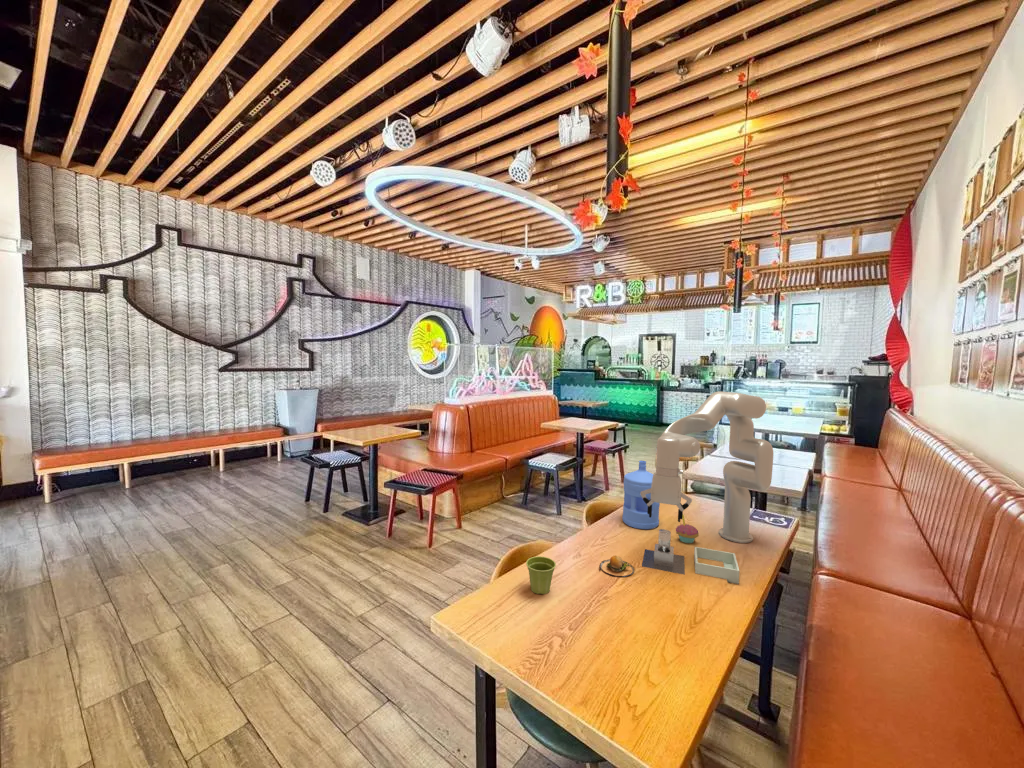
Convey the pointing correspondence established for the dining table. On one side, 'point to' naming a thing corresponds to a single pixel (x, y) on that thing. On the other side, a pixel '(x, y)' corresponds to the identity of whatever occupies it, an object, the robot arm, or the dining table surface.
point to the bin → (726, 572)
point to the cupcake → (687, 532)
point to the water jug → (639, 499)
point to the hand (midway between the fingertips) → (664, 518)
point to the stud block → (677, 565)
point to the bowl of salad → (616, 565)
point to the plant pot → (540, 573)
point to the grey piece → (664, 549)
